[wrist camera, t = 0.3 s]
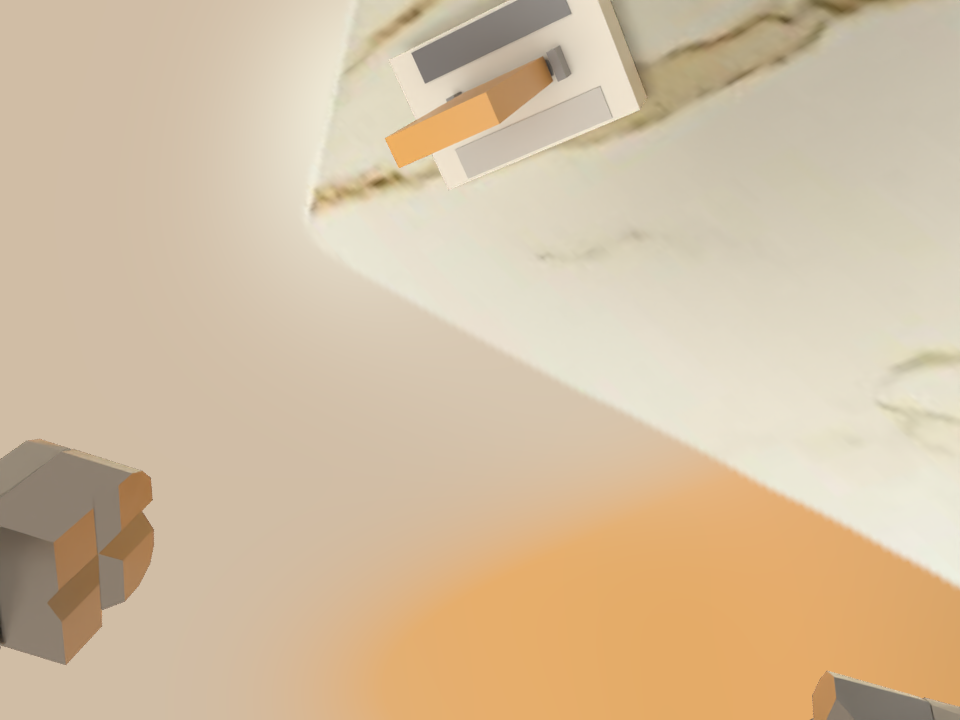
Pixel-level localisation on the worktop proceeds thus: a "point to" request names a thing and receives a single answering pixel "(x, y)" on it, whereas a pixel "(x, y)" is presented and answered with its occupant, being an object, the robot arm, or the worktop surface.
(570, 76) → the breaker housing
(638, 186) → the worktop surface
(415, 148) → the lever
